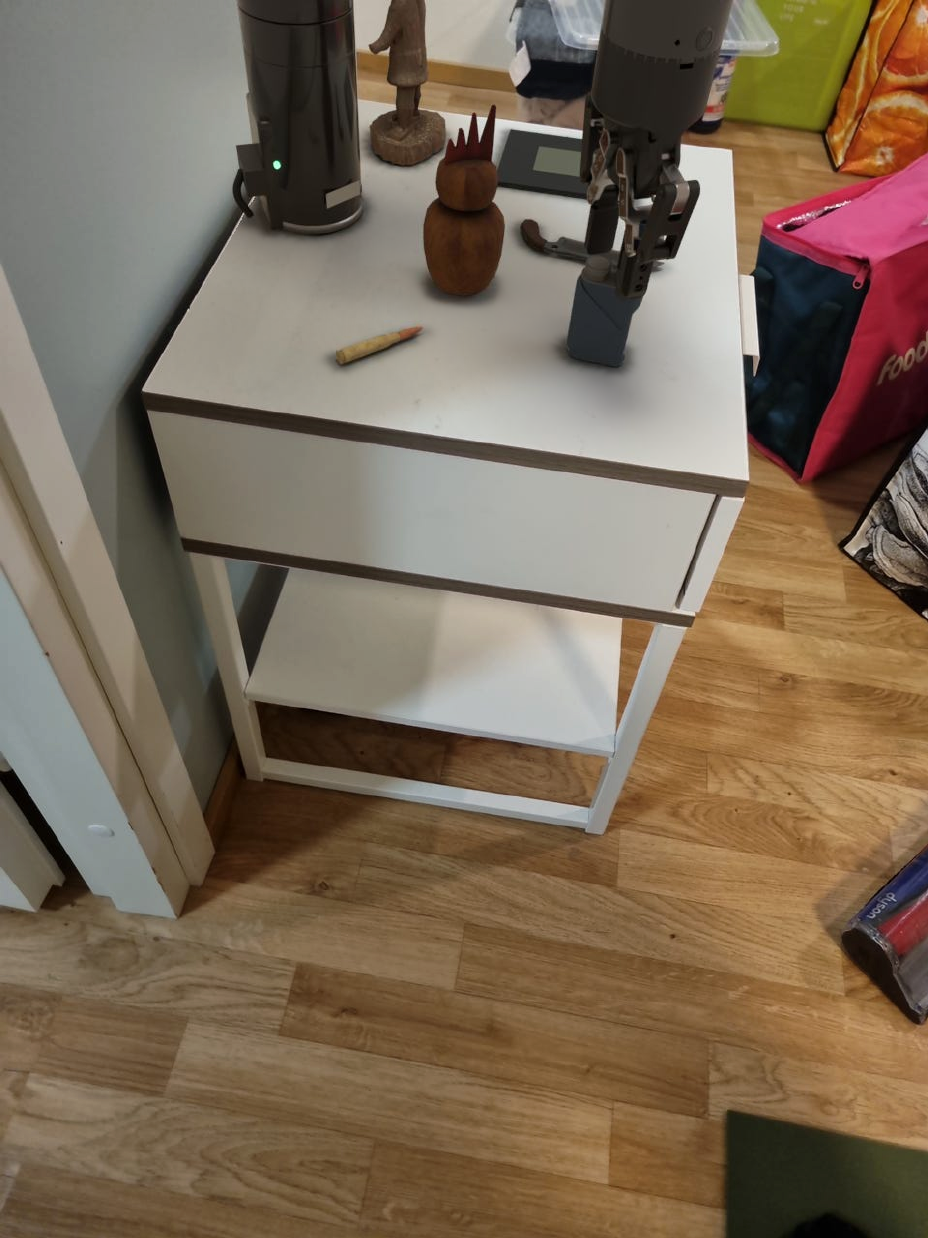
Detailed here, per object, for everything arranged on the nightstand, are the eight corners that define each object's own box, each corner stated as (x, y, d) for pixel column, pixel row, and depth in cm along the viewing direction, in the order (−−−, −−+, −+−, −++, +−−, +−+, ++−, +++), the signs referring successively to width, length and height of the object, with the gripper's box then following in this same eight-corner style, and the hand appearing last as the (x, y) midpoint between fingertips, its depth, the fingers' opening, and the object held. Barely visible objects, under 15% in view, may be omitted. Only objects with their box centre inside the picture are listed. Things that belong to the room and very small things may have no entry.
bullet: (335, 358, 73) (342, 367, 73) (335, 348, 72) (341, 356, 72) (418, 328, 76) (426, 336, 76) (419, 318, 75) (427, 326, 75)
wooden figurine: (501, 269, 82) (517, 93, 70) (496, 307, 78) (512, 129, 66) (427, 262, 82) (430, 85, 70) (418, 299, 78) (420, 120, 66)
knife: (510, 244, 84) (510, 237, 83) (524, 223, 86) (524, 216, 86) (656, 282, 82) (658, 275, 81) (667, 259, 84) (668, 252, 83)
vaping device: (624, 370, 74) (657, 233, 64) (562, 357, 75) (585, 219, 65) (630, 351, 76) (662, 214, 66) (568, 338, 76) (592, 201, 67)
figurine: (380, 120, 97) (374, -111, 81) (450, 129, 97) (458, -102, 81) (362, 161, 92) (352, -78, 76) (435, 170, 92) (441, -68, 75)
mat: (493, 185, 90) (493, 179, 90) (510, 133, 97) (510, 128, 96) (633, 205, 89) (634, 199, 89) (640, 151, 96) (641, 146, 96)
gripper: (563, -16, 59) (534, 229, 72) (656, 84, 51) (604, 338, 64) (668, -23, 60) (620, 218, 74) (774, 72, 52) (698, 322, 66)
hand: (613, 272), depth 69 cm, fingers open, 5 cm apart
